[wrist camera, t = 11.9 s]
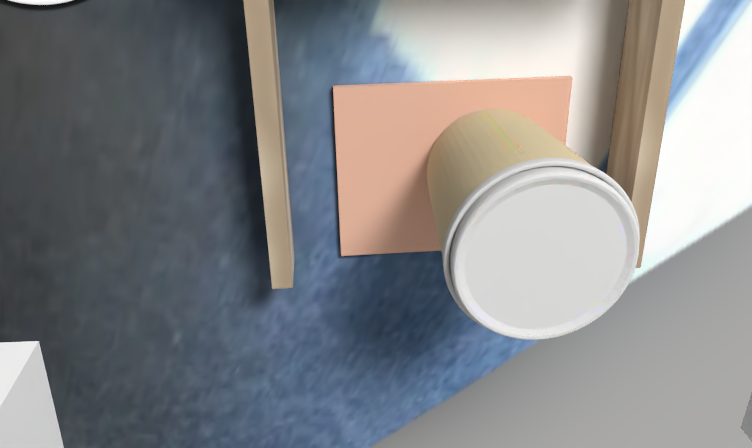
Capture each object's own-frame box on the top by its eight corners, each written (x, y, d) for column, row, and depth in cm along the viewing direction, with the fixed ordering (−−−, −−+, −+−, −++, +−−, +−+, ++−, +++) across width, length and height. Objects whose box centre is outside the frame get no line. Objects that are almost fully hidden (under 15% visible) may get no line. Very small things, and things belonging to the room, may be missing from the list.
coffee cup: (528, 249, 45) (596, 361, 35) (393, 217, 44) (419, 324, 33) (586, 116, 42) (682, 195, 31) (441, 75, 40) (488, 143, 29)
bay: (275, 256, 45) (265, 349, 36) (234, -176, 34) (205, -199, 25) (615, 238, 46) (687, 322, 37) (676, -184, 36) (798, -208, 27)
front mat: (340, 253, 45) (341, 256, 45) (332, 85, 40) (333, 87, 40) (552, 241, 46) (554, 244, 45) (569, 76, 41) (572, 77, 41)
